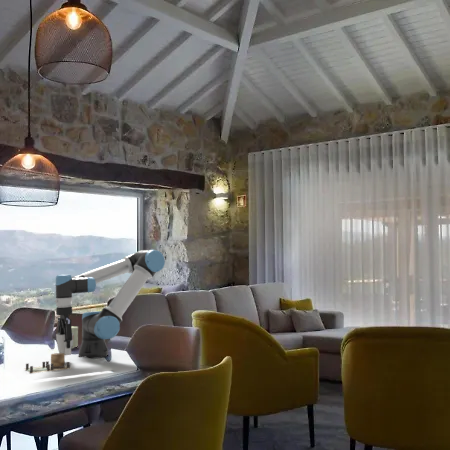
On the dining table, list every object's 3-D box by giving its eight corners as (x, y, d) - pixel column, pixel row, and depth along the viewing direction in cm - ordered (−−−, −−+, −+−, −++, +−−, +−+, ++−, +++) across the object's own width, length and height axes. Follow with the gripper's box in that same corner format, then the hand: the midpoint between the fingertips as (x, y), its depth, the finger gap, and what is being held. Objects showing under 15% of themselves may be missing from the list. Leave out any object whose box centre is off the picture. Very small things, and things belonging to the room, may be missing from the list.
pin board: (63, 366, 265) (63, 358, 265) (71, 371, 254) (71, 362, 254) (23, 371, 255) (23, 363, 255) (31, 376, 244) (31, 367, 244)
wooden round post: (62, 365, 261) (62, 352, 262) (66, 367, 256) (66, 354, 256) (49, 367, 258) (49, 353, 258) (53, 369, 253) (53, 355, 253)
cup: (69, 356, 266) (68, 334, 267) (53, 356, 268) (53, 335, 268) (76, 352, 274) (76, 332, 275) (61, 352, 276) (61, 332, 276)
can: (81, 347, 323) (81, 326, 324) (67, 349, 316) (67, 327, 317) (72, 345, 329) (72, 325, 330) (58, 347, 322) (58, 326, 323)
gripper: (50, 305, 279) (51, 351, 278) (62, 308, 261) (64, 357, 261) (65, 304, 283) (66, 349, 282) (78, 307, 266) (79, 355, 265)
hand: (65, 353), depth 271 cm, fingers closed on cup, 8 cm apart
